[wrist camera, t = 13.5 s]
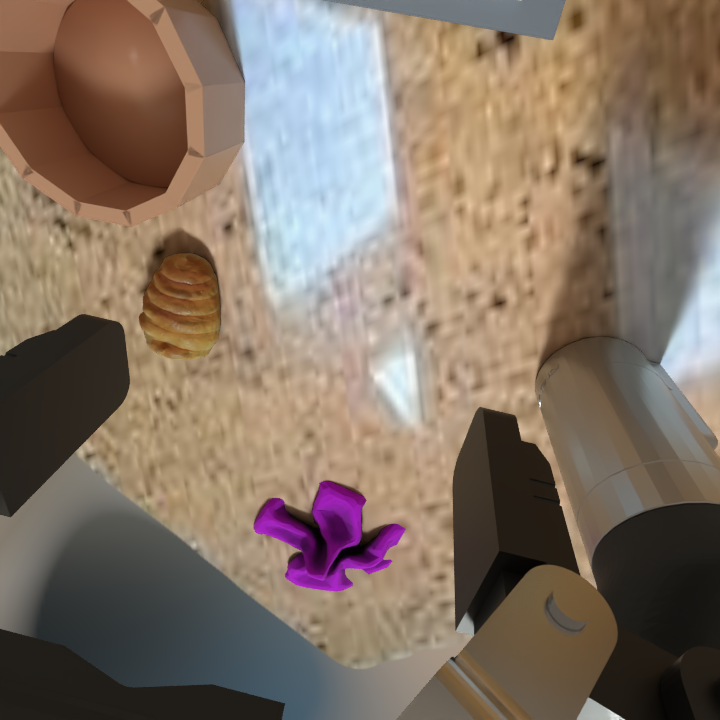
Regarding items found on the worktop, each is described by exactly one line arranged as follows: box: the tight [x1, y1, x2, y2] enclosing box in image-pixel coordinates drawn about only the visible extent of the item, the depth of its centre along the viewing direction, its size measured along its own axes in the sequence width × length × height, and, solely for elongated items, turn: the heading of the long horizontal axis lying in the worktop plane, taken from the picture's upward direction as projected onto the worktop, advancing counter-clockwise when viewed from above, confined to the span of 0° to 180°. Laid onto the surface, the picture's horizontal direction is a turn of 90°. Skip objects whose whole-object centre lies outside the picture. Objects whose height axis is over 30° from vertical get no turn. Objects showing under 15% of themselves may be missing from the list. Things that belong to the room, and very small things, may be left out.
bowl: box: [0, 0, 245, 227], centre depth 30 cm, size 14×14×7 cm
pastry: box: [139, 253, 221, 360], centre depth 40 cm, size 9×7×4 cm
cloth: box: [254, 481, 405, 591], centre depth 54 cm, size 22×19×6 cm
